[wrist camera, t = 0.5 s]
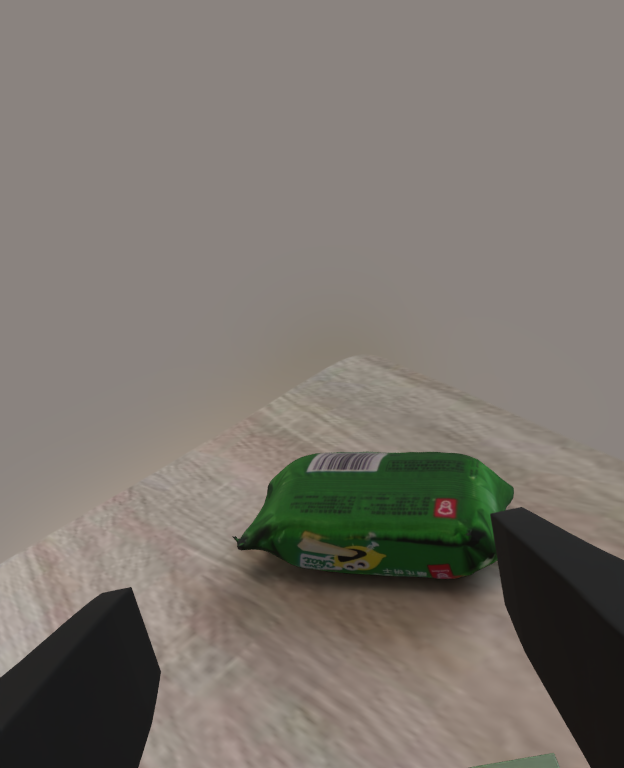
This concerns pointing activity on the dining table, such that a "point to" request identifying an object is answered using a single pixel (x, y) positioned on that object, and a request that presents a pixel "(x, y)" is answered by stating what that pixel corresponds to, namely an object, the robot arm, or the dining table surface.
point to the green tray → (526, 762)
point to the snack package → (382, 514)
